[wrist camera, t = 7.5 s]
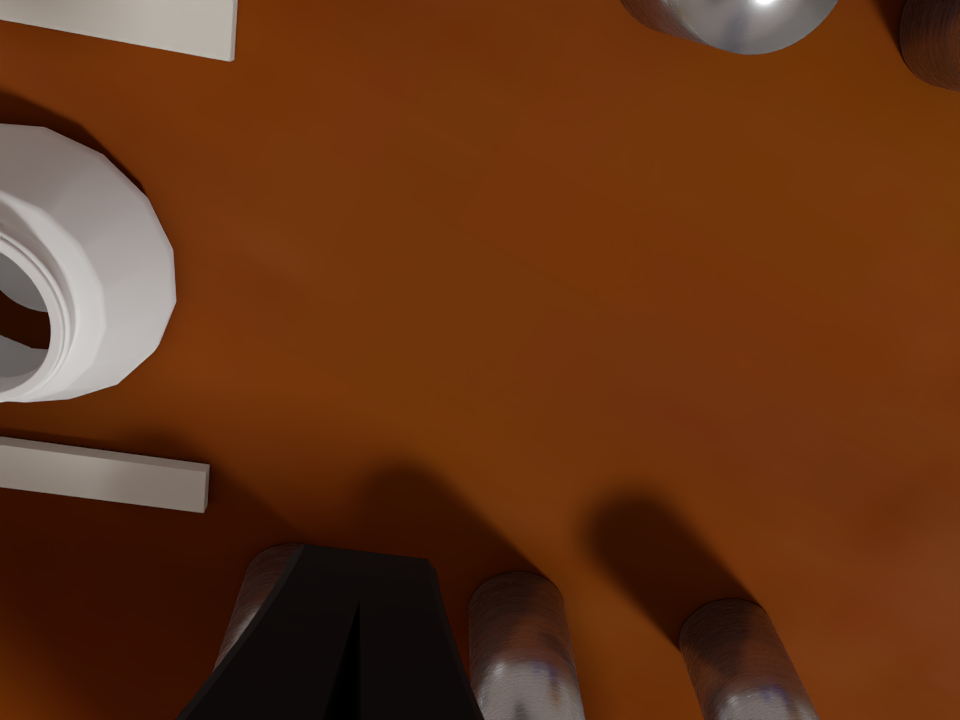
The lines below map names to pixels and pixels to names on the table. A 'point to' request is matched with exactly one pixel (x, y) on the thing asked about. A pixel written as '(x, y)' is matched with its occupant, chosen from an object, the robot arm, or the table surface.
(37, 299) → the white jar
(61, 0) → the outline bay
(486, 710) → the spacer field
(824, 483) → the table surface
